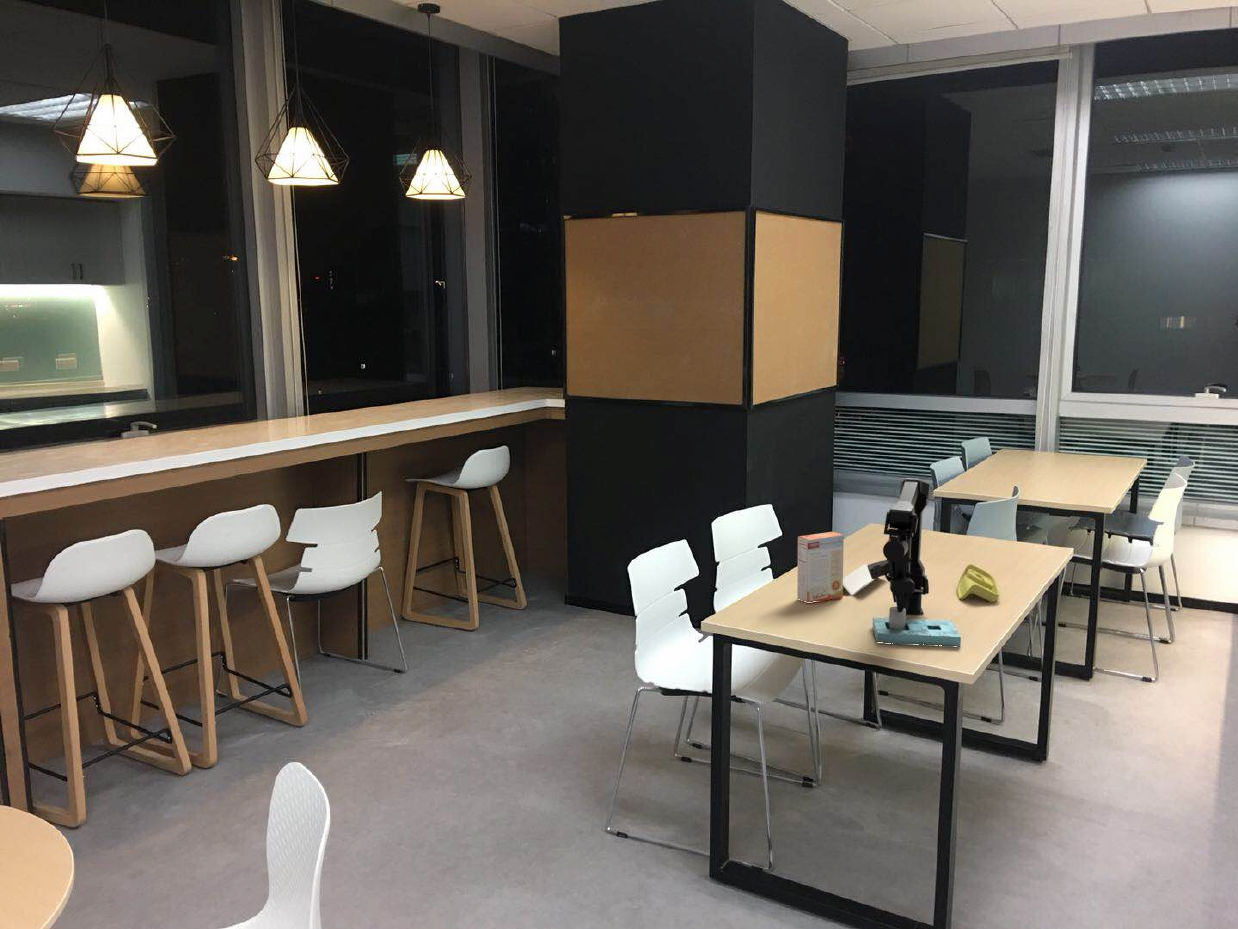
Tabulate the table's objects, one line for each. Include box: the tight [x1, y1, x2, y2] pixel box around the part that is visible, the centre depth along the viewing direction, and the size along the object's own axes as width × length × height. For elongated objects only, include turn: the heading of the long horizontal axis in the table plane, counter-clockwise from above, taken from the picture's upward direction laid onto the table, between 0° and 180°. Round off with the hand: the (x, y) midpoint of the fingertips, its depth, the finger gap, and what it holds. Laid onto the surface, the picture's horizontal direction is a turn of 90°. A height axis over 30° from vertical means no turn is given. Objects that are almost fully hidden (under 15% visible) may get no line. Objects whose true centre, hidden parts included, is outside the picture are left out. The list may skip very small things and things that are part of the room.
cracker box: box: [796, 531, 845, 602], centre depth 307 cm, size 14×6×21 cm, turn 115°
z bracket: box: [843, 563, 876, 596], centre depth 324 cm, size 12×25×6 cm
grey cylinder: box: [888, 606, 907, 630], centre depth 273 cm, size 4×4×8 cm
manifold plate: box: [872, 616, 962, 648], centre depth 273 cm, size 14×22×3 cm, turn 81°
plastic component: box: [956, 563, 1001, 603], centre depth 314 cm, size 20×7×10 cm
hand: (897, 607), depth 272 cm, fingers open, 9 cm apart
